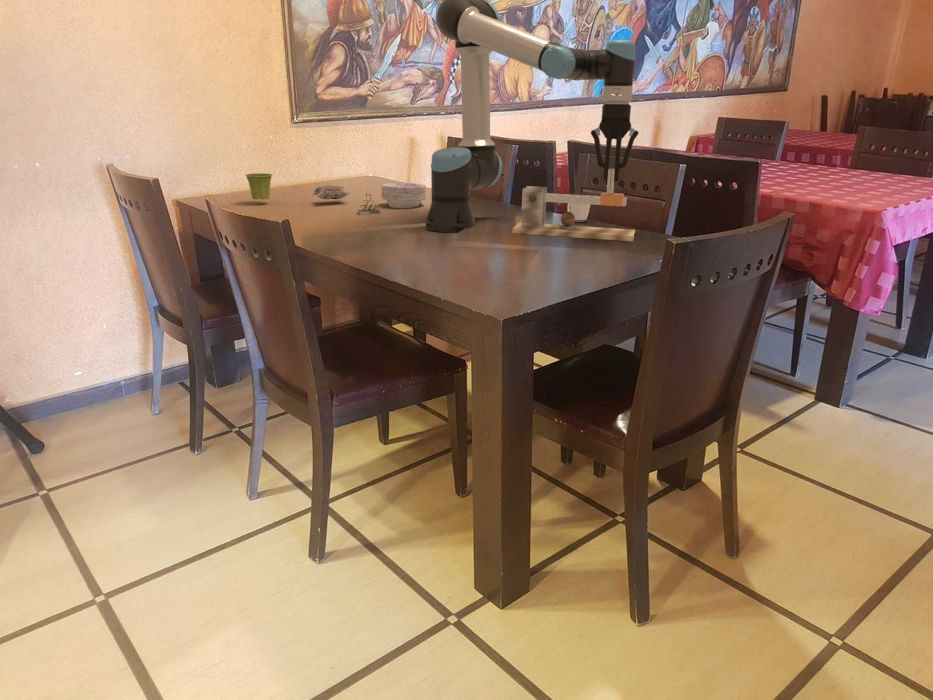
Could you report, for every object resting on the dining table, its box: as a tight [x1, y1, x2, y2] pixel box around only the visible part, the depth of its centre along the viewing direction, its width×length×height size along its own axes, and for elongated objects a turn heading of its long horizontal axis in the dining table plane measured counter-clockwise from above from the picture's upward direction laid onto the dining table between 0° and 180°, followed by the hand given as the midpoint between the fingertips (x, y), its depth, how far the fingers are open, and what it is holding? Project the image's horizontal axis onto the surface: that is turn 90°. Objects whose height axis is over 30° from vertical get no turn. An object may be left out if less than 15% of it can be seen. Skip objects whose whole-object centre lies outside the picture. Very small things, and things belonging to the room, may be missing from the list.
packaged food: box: [312, 185, 350, 201], centre depth 253 cm, size 9×12×5 cm
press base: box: [512, 185, 636, 242], centre depth 198 cm, size 34×10×12 cm, turn 74°
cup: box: [566, 203, 592, 221], centre depth 218 cm, size 7×10×8 cm
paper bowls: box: [381, 182, 427, 209], centre depth 240 cm, size 15×15×8 cm
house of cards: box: [357, 190, 381, 216], centre depth 230 cm, size 9×9×8 cm
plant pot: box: [245, 172, 273, 200], centre depth 254 cm, size 9×9×9 cm
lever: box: [543, 192, 628, 207], centre depth 196 cm, size 28×4×4 cm, turn 74°
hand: (610, 192), depth 193 cm, fingers closed
